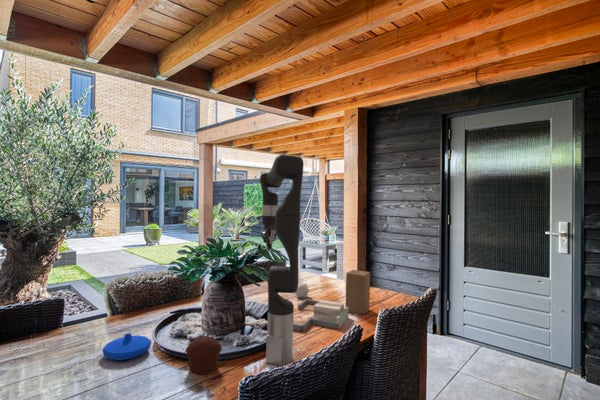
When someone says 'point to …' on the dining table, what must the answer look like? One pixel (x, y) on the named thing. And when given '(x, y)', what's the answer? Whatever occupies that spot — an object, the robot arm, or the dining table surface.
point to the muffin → (203, 355)
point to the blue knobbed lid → (126, 347)
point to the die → (302, 290)
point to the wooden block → (357, 291)
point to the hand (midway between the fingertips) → (269, 251)
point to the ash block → (327, 310)
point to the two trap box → (304, 325)
